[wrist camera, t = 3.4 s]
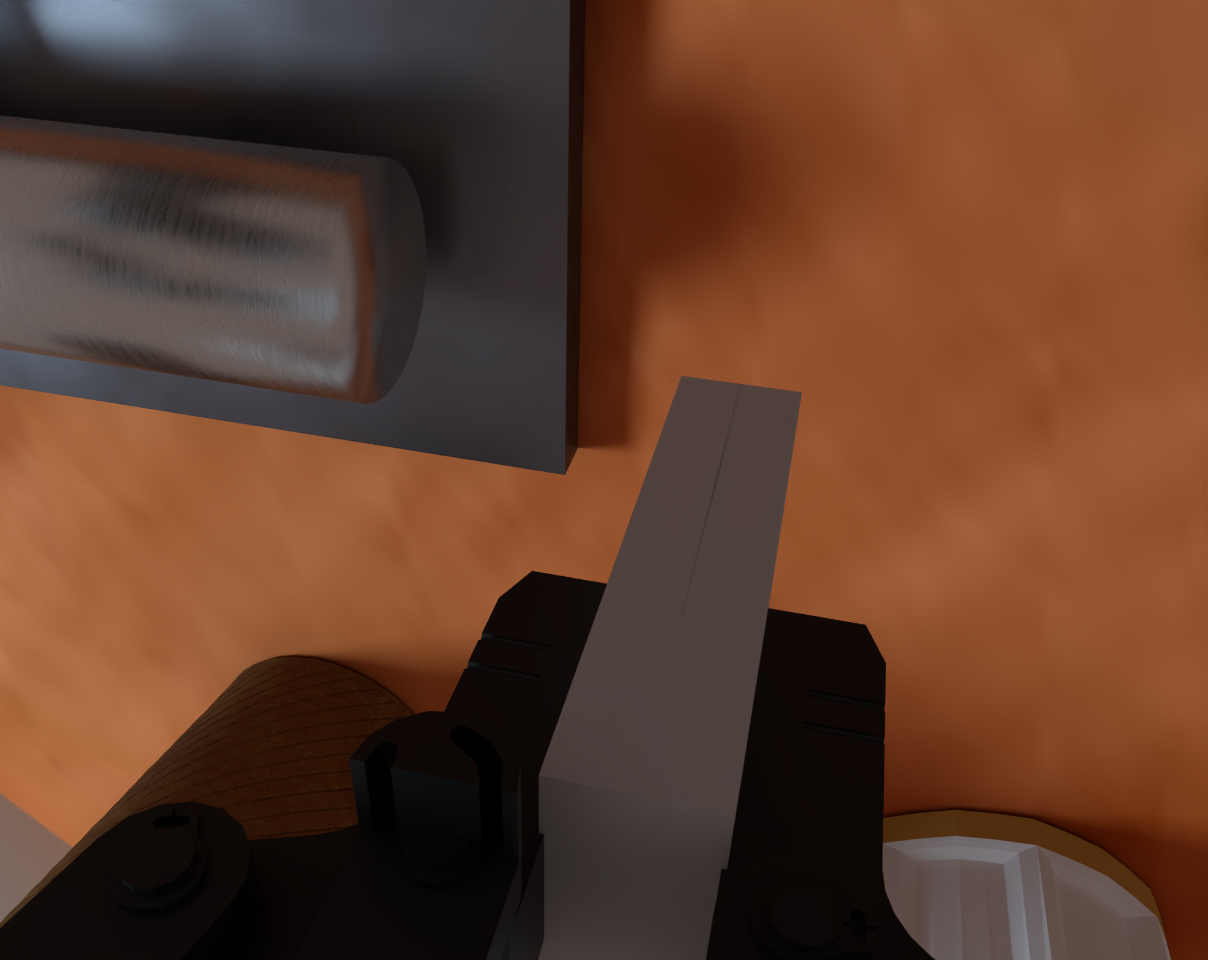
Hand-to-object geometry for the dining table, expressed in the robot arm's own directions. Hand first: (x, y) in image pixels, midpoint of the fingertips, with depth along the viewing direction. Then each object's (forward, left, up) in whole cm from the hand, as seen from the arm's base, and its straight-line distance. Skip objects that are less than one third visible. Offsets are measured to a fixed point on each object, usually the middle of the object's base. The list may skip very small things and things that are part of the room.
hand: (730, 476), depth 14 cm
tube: (0, -14, -6) cm, 15 cm away
